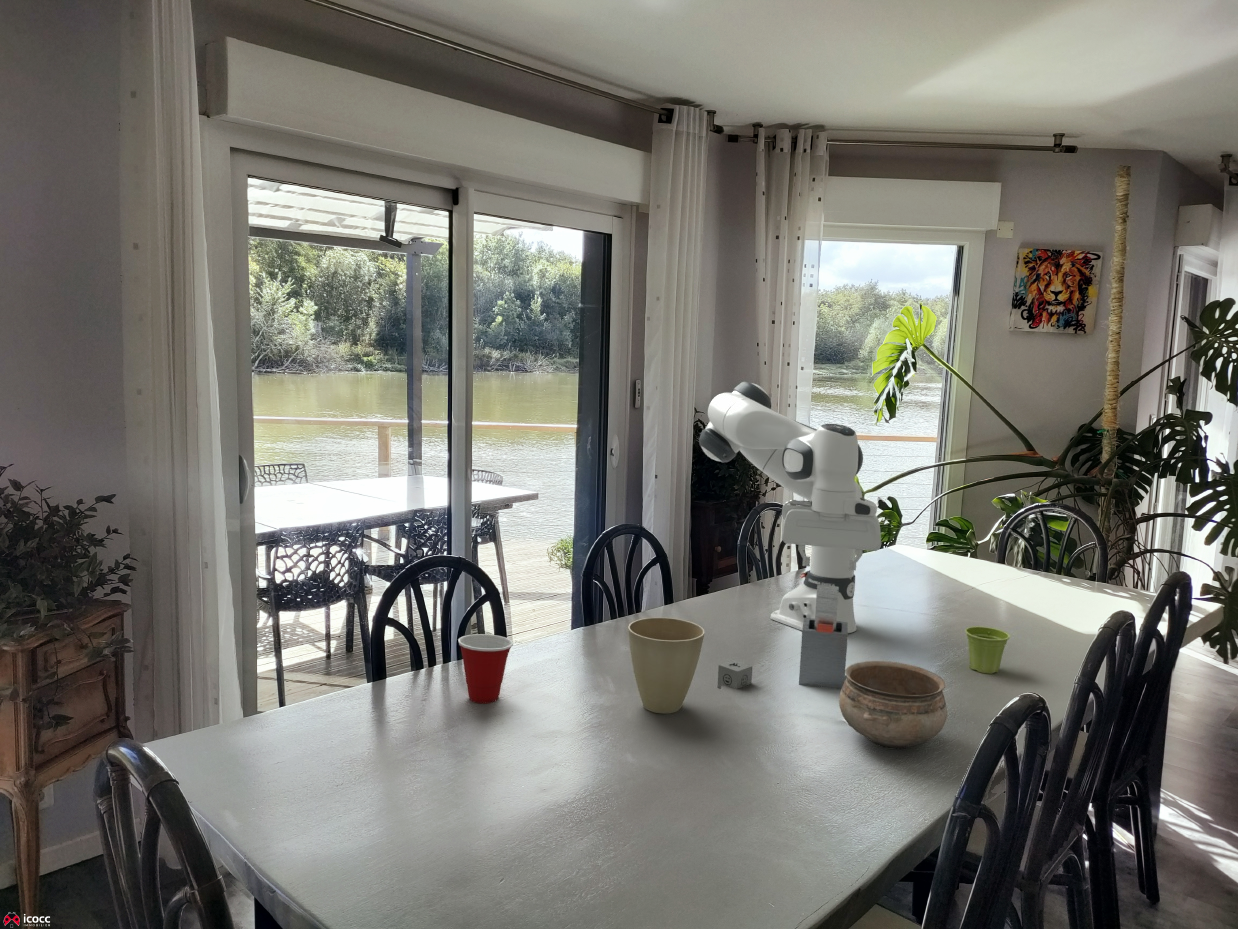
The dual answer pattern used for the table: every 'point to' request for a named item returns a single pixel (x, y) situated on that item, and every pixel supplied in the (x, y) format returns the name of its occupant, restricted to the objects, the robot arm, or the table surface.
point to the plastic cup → (484, 665)
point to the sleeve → (823, 654)
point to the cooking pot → (893, 703)
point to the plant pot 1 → (664, 660)
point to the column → (826, 605)
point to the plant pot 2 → (986, 648)
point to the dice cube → (734, 674)
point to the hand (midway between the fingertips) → (829, 567)
